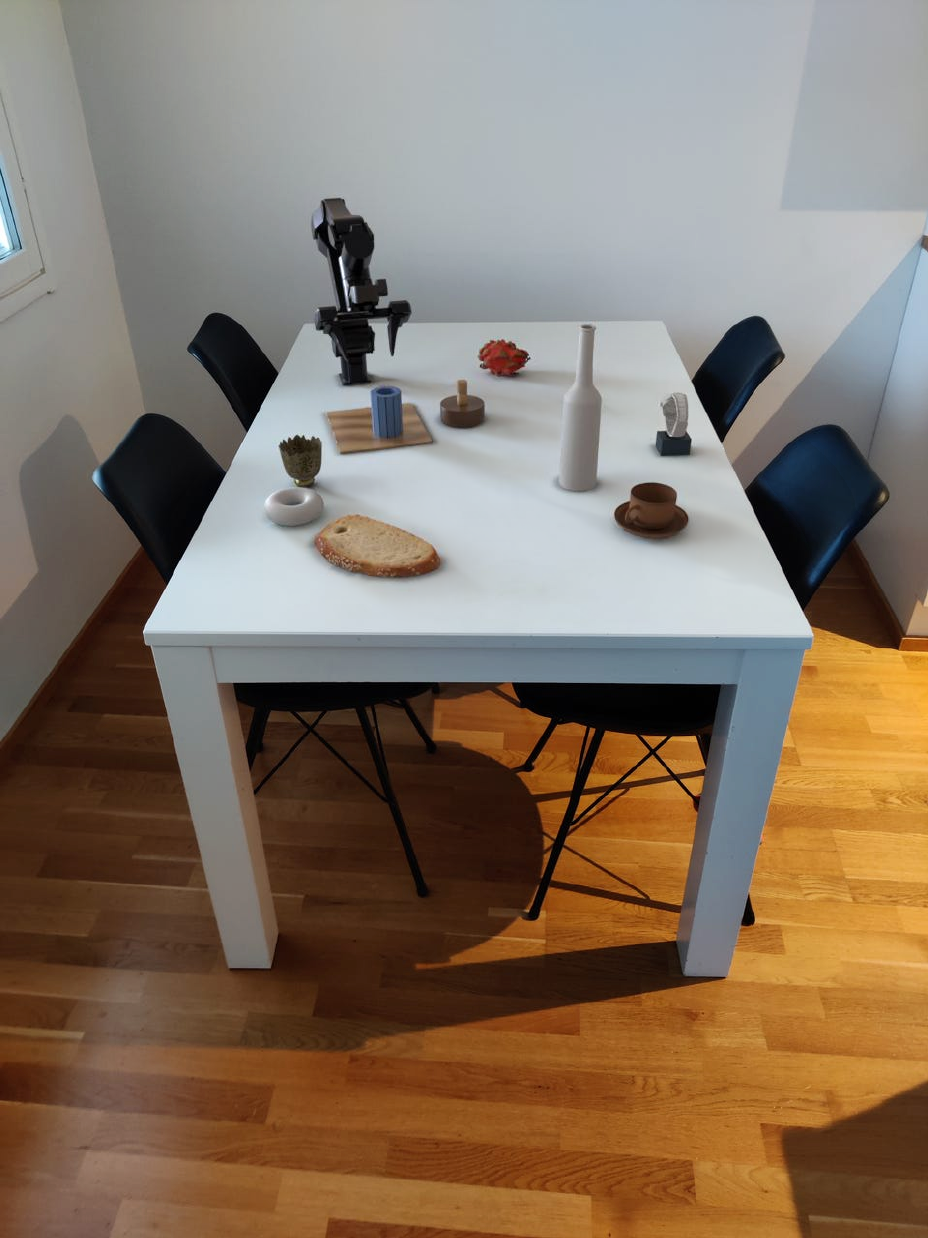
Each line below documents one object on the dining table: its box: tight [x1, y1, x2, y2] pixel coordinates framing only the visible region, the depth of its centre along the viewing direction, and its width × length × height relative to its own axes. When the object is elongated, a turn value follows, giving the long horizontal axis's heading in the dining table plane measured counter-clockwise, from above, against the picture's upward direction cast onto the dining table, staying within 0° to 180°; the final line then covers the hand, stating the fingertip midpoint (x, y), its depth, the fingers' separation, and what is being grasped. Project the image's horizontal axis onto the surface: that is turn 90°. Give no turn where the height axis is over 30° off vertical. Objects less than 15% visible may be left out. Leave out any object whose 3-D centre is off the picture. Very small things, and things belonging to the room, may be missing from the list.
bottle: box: [558, 323, 603, 493], centre depth 160 cm, size 7×7×28 cm
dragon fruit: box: [477, 338, 531, 378], centre depth 211 cm, size 8×8×12 cm
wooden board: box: [325, 402, 433, 455], centre depth 189 cm, size 20×18×1 cm
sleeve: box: [369, 385, 403, 438], centre depth 184 cm, size 6×6×8 cm
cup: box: [278, 434, 323, 488], centre depth 167 cm, size 8×7×8 cm
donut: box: [263, 486, 325, 527], centre depth 159 cm, size 10×4×10 cm
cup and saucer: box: [613, 481, 689, 539], centre depth 153 cm, size 12×12×6 cm
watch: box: [655, 392, 693, 457], centre depth 176 cm, size 6×8×11 cm
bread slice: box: [313, 513, 442, 579], centre depth 148 cm, size 18×18×4 cm
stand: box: [439, 379, 486, 429], centre depth 190 cm, size 9×9×8 cm
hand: (370, 357), depth 187 cm, fingers open, 9 cm apart
